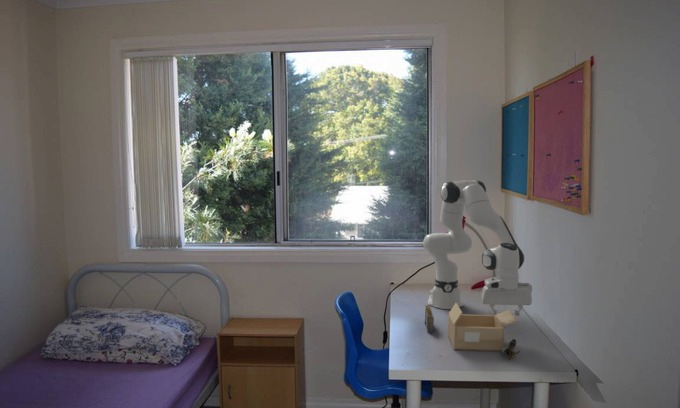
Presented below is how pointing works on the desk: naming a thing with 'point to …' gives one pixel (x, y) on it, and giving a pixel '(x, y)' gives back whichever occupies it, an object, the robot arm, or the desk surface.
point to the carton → (476, 333)
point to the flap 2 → (506, 318)
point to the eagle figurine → (510, 349)
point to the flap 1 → (455, 313)
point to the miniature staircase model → (429, 319)
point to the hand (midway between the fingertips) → (505, 314)
